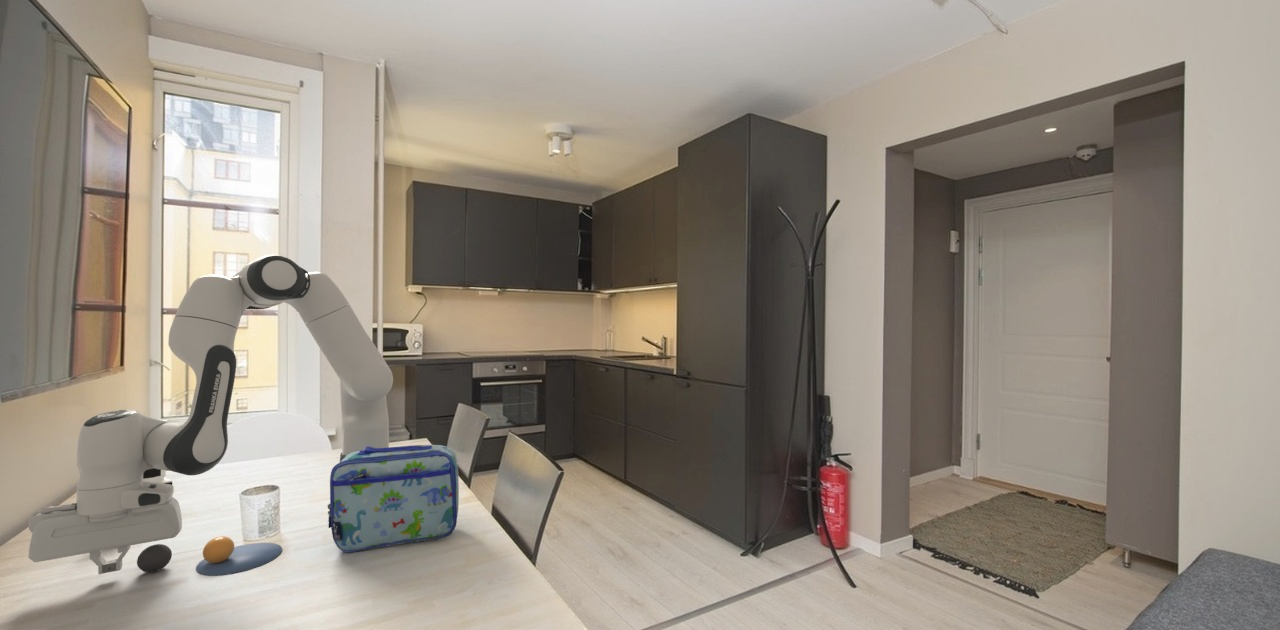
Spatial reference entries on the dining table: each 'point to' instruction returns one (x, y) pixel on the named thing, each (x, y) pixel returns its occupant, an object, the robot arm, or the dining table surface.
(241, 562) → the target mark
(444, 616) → the dining table surface
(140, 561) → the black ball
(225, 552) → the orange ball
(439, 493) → the lunch box
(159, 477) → the medicine bottle
